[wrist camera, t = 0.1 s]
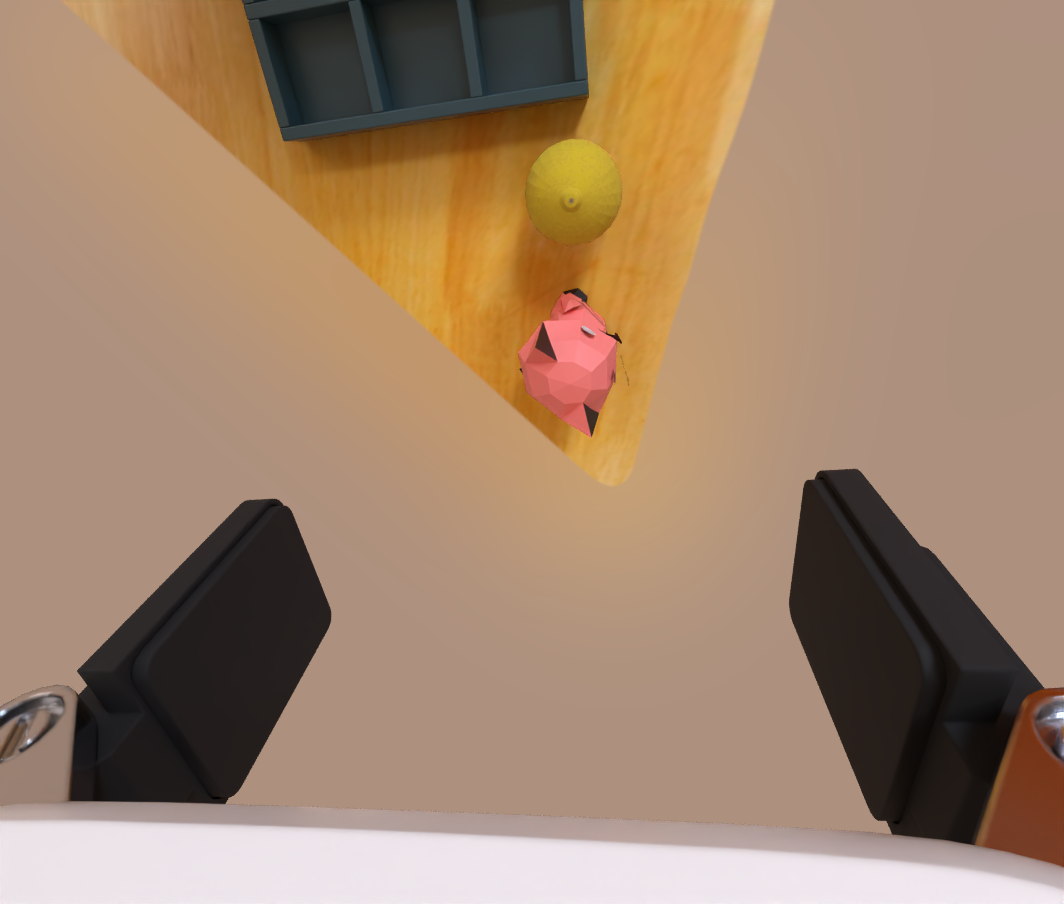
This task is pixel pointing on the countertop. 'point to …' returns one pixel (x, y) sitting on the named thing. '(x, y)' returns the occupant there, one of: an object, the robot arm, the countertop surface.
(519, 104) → the grid
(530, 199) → the lemon
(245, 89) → the countertop surface
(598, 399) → the cat figurine
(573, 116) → the countertop surface
